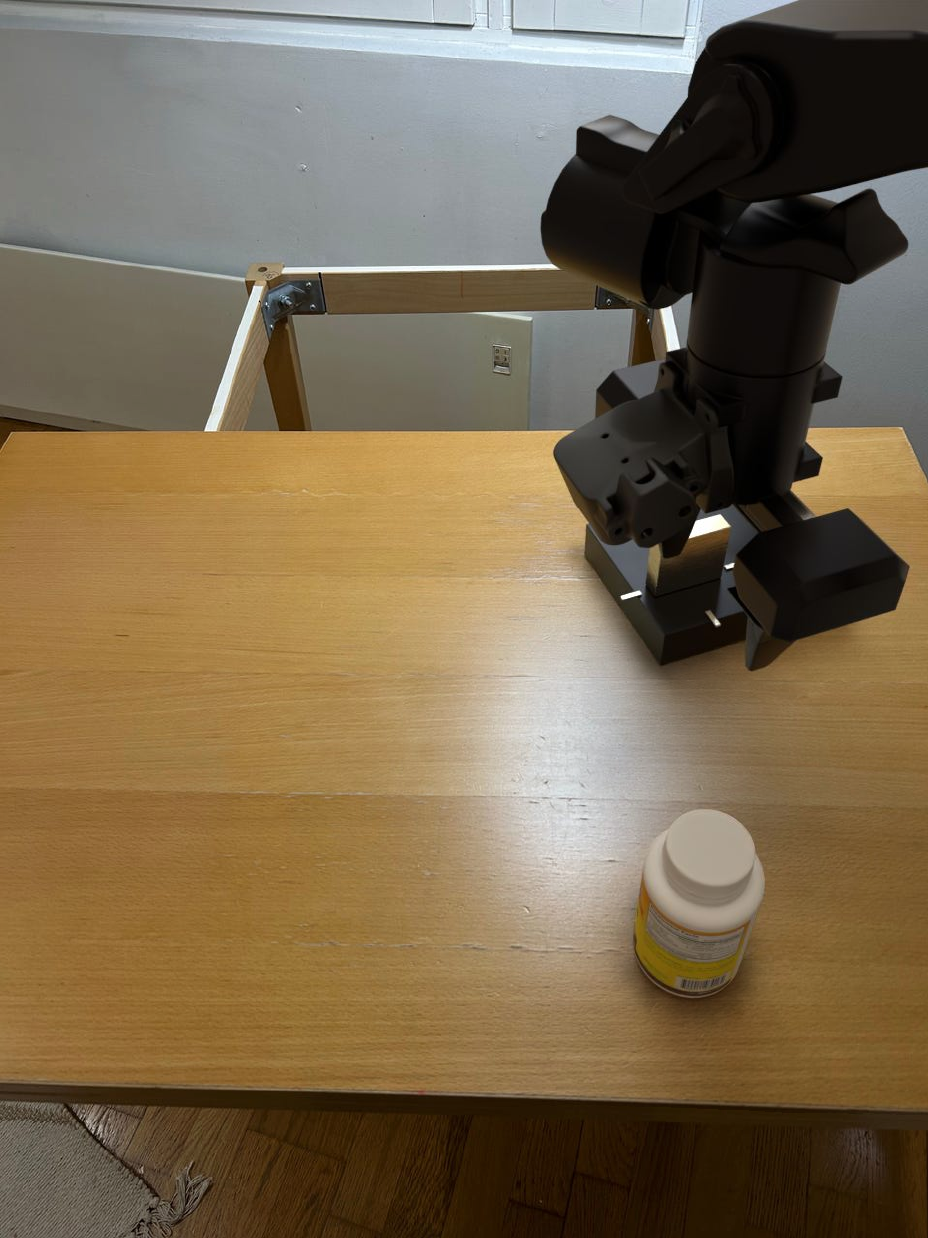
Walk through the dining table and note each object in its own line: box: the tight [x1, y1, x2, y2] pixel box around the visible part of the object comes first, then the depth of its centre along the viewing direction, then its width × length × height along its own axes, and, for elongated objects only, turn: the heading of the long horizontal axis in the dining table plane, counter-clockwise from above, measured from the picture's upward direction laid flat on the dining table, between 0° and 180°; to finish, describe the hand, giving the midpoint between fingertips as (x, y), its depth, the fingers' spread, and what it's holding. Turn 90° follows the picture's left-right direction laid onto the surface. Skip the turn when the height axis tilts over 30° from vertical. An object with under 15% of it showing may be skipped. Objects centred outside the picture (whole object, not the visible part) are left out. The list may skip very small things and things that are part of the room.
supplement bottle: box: [632, 808, 766, 999], centre depth 48 cm, size 6×6×10 cm
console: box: [583, 505, 757, 667], centre depth 69 cm, size 13×15×3 cm
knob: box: [645, 514, 731, 597], centre depth 65 cm, size 5×1×5 cm, turn 110°
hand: (710, 608), depth 52 cm, fingers open, 9 cm apart
